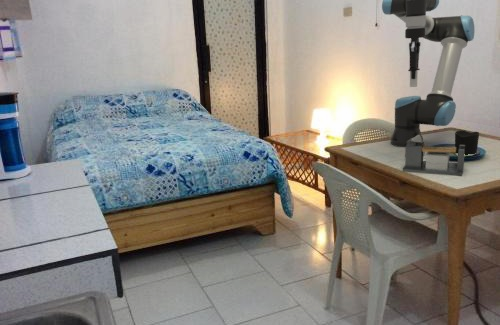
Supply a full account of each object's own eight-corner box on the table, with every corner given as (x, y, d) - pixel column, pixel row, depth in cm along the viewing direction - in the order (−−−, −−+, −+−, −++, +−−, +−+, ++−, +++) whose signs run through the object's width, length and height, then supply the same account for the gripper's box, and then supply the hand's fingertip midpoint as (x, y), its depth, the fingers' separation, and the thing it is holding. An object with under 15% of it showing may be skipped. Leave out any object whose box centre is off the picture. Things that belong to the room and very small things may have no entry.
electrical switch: (418, 159, 192) (417, 139, 190) (406, 159, 196) (405, 139, 194) (425, 154, 199) (424, 134, 197) (413, 154, 203) (412, 134, 200)
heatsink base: (402, 171, 179) (403, 148, 176) (407, 162, 190) (408, 139, 187) (462, 175, 169) (463, 151, 166) (463, 165, 180) (465, 142, 177)
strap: (414, 151, 179) (414, 148, 179) (416, 149, 183) (416, 146, 182) (455, 152, 172) (455, 149, 172) (456, 150, 176) (456, 146, 175)
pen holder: (461, 158, 189) (462, 136, 186) (449, 152, 198) (450, 131, 195) (481, 156, 190) (483, 134, 187) (469, 150, 199) (471, 129, 196)
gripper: (407, 27, 183) (406, 84, 190) (402, 28, 172) (401, 89, 179) (427, 26, 179) (424, 84, 186) (423, 27, 168) (420, 88, 175)
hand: (413, 86), depth 182 cm, fingers closed
